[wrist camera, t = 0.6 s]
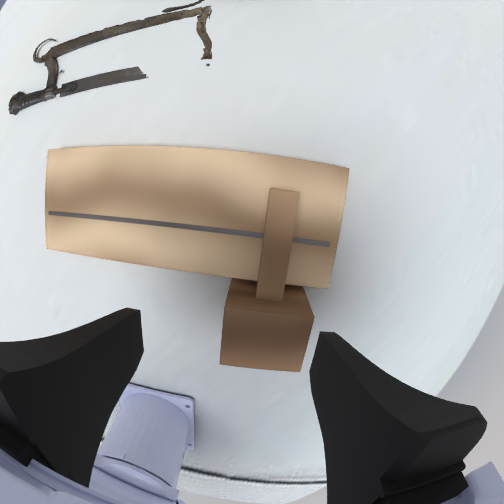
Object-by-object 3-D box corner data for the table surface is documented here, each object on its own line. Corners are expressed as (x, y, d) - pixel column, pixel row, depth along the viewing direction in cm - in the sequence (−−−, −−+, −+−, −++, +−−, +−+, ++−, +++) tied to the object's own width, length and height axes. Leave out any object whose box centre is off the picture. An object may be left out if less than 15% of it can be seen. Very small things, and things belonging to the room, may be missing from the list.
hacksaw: (12, 118, 17) (3, 119, 15) (26, 32, 13) (18, 29, 12) (256, 80, 17) (256, 75, 16) (260, -21, 14) (261, -30, 12)
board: (323, 280, 20) (328, 289, 18) (57, 244, 19) (45, 249, 18) (342, 168, 18) (349, 168, 16) (59, 150, 17) (47, 149, 16)
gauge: (292, 331, 21) (300, 372, 16) (227, 324, 21) (219, 364, 16) (317, 193, 18) (337, 199, 13) (242, 183, 18) (237, 185, 13)
